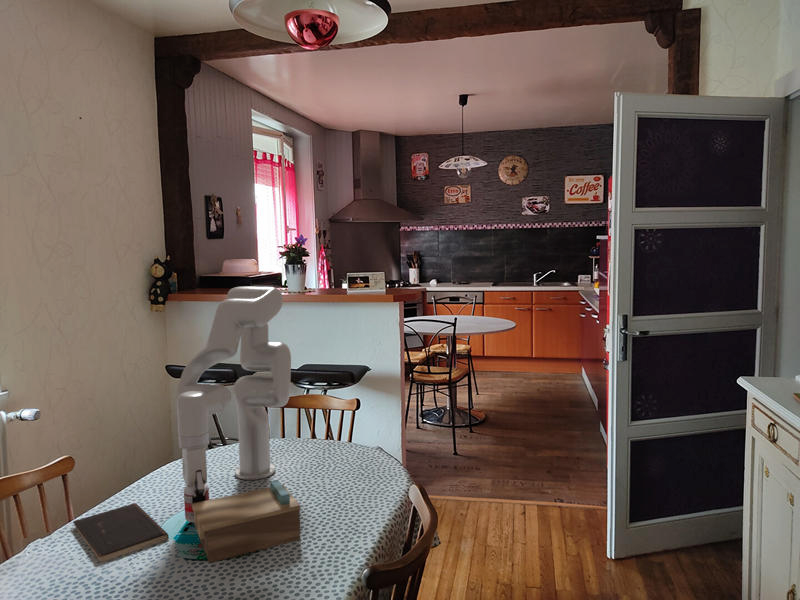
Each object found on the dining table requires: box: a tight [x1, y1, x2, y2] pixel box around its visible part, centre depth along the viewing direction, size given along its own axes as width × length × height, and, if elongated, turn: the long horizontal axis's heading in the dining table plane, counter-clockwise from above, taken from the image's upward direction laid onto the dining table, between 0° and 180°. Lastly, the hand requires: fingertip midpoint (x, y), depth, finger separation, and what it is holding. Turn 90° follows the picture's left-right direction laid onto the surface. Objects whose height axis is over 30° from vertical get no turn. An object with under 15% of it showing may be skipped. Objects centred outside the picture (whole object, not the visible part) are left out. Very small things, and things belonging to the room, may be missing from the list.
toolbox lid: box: [192, 479, 301, 540], centre depth 143 cm, size 14×23×7 cm, turn 118°
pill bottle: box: [183, 482, 210, 523], centre depth 152 cm, size 6×6×11 cm
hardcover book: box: [72, 502, 169, 563], centre depth 147 cm, size 16×23×2 cm
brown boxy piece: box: [198, 508, 301, 564], centre depth 143 cm, size 13×22×8 cm, turn 118°
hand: (197, 504), depth 152 cm, fingers closed on pill bottle, 6 cm apart
